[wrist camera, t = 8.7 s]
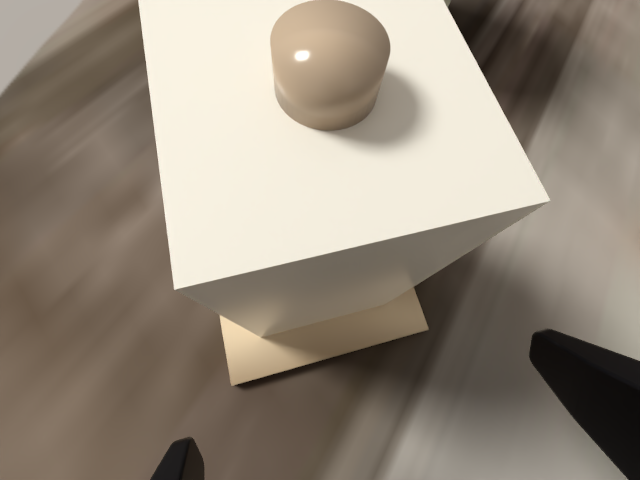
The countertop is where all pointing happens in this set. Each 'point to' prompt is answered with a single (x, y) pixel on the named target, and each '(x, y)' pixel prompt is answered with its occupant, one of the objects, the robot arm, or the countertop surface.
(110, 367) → the countertop surface
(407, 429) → the countertop surface
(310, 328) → the coaster
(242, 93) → the knobbed white block
